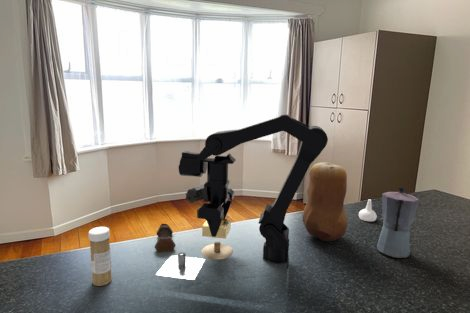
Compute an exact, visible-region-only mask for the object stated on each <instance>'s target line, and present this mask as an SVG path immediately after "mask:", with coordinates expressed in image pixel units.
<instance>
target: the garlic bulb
mask: <svg viewBox="0 0 470 313" xmlns="http://www.w3.org/2000/svg"><path fill="white" fill-rule="evenodd" d="M372 208H373V207H372V199H369V198H368V199H367V203H366V206H365V208H363V209H361V210H360V211H359V212H358V217H359V219H360V220H361V221H365V222H370V223H372V222H375V221H376V220H377V217H378V216H377V213H376V212H375V211H374V210H373V209H372Z"/></svg>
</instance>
